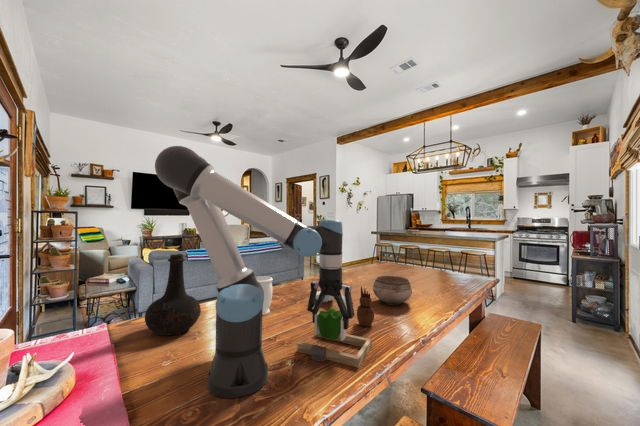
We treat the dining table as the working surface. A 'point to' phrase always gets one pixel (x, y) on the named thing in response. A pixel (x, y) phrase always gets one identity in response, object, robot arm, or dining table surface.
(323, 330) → the bell pepper
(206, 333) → the dining table surface
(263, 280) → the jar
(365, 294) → the wooden figurine
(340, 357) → the tan wooden u-shaped frame
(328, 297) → the spoon rest
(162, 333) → the glass bottle
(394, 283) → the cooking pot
